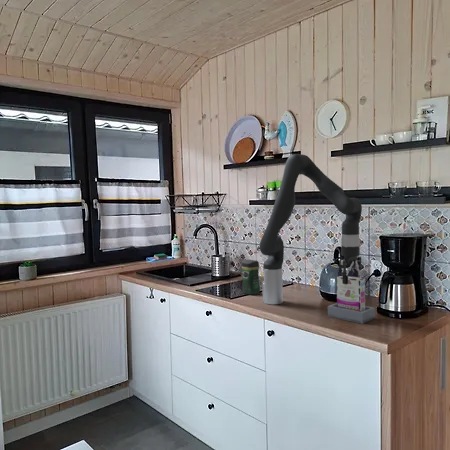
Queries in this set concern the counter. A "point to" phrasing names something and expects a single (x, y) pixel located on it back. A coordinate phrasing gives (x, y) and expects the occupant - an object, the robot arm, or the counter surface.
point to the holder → (351, 314)
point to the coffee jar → (250, 277)
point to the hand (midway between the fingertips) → (350, 282)
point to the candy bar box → (351, 293)
